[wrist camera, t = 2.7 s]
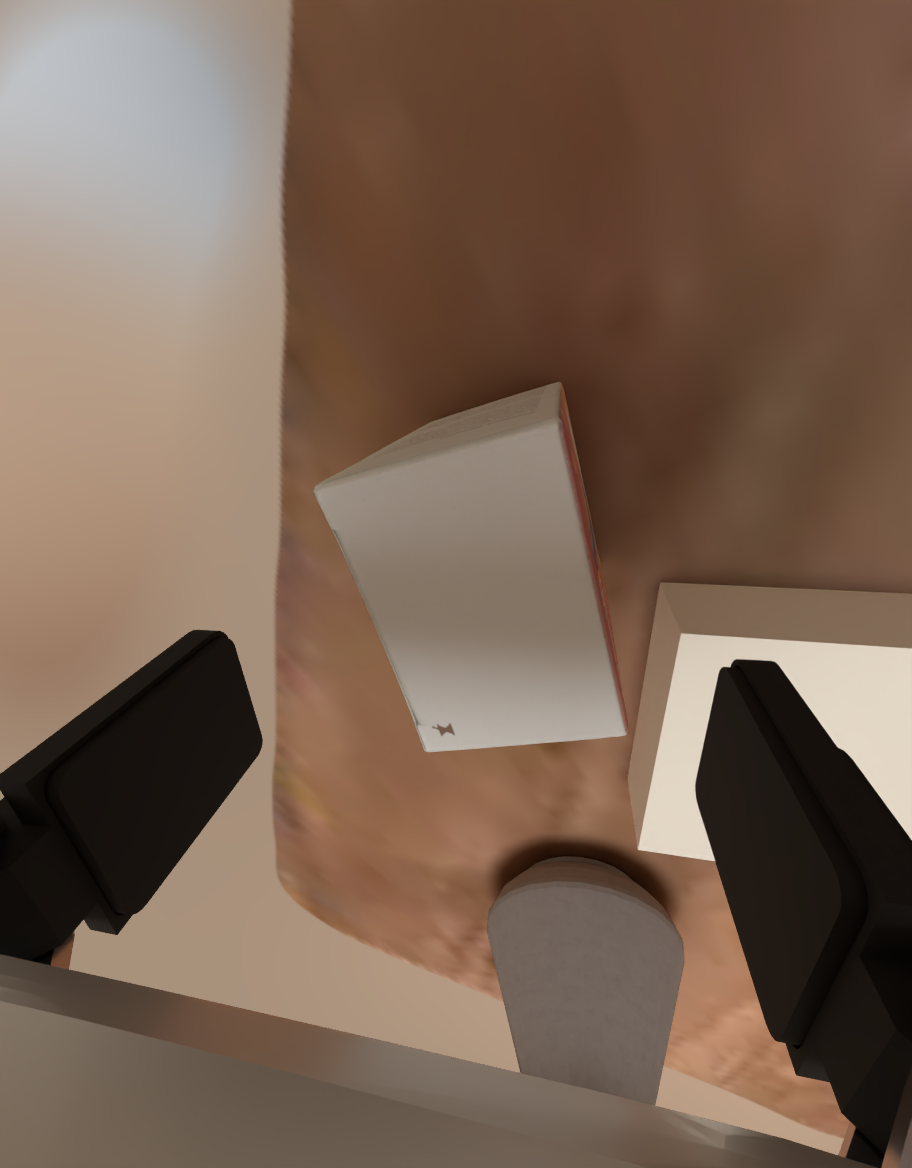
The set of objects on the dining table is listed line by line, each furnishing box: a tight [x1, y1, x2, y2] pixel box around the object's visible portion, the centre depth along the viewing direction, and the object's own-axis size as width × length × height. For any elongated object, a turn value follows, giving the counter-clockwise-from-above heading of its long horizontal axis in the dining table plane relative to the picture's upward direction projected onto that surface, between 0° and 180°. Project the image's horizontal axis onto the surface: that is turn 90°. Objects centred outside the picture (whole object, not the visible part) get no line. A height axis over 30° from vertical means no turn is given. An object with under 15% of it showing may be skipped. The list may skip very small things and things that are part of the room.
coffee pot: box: [487, 856, 684, 1106], centre depth 26 cm, size 21×12×15 cm, turn 96°
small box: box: [314, 382, 629, 752], centre depth 15 cm, size 8×6×10 cm
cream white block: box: [627, 582, 912, 861], centre depth 20 cm, size 12×12×4 cm
